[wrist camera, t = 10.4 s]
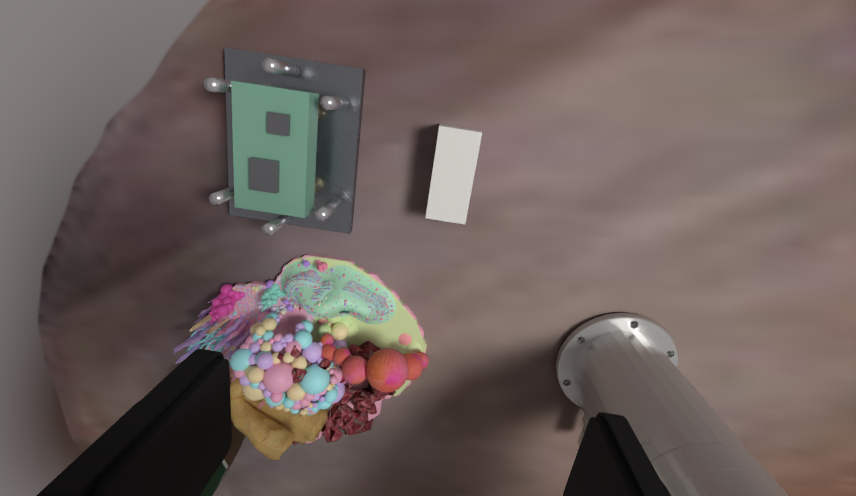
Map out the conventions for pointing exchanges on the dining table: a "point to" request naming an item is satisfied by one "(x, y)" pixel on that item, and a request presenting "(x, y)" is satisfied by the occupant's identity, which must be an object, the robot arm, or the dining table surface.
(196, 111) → the dining table surface
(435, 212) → the white rectangular block
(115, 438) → the robot arm
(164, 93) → the dining table surface
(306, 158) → the board
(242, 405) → the pastel sphere sculpture
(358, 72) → the chassis
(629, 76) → the dining table surface
